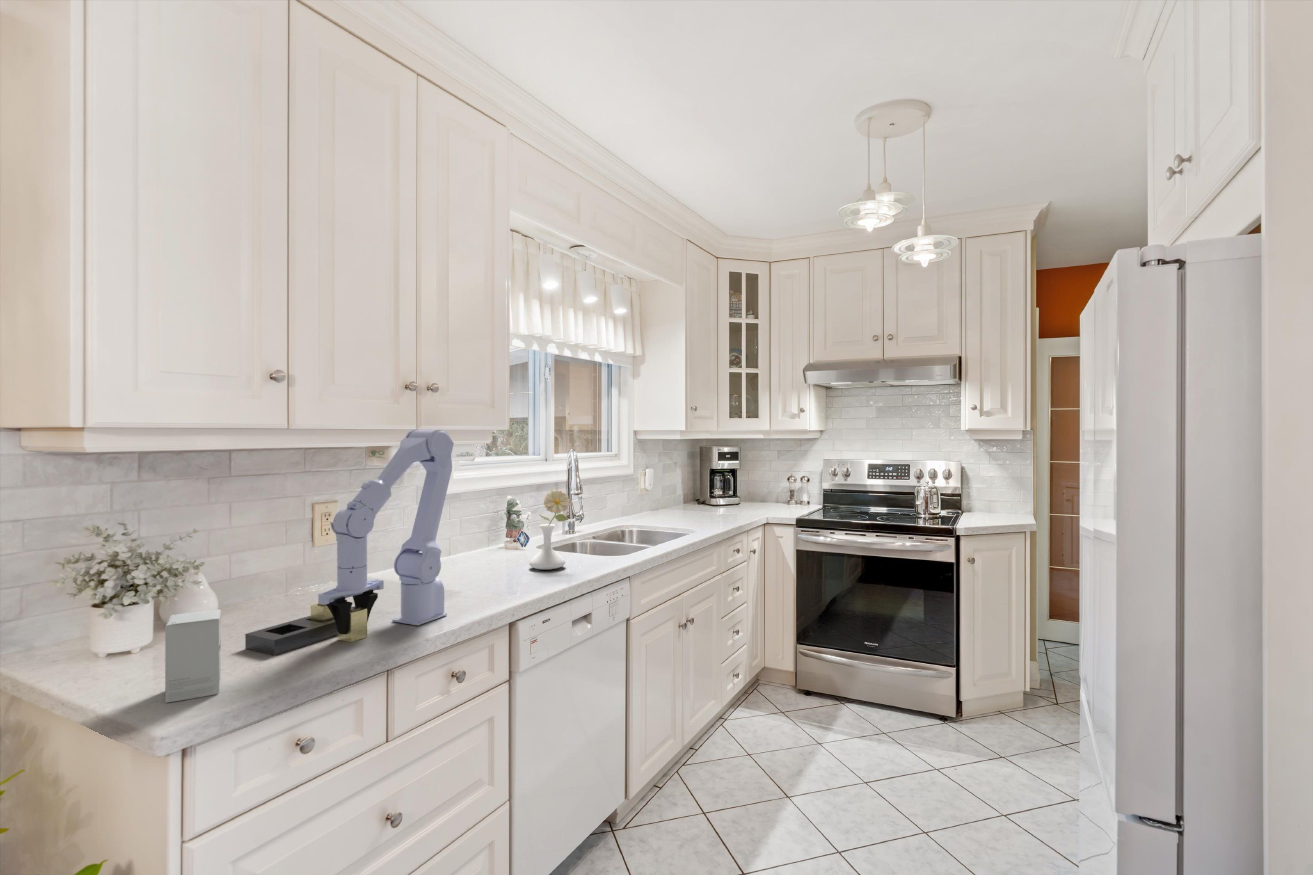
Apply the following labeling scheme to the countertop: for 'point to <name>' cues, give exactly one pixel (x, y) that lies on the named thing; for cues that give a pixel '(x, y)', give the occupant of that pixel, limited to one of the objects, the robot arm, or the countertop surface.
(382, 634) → the countertop surface
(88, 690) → the countertop surface
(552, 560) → the flower in vase
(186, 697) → the supplement box
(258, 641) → the rail
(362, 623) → the block
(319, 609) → the seated nut
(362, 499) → the robot arm
